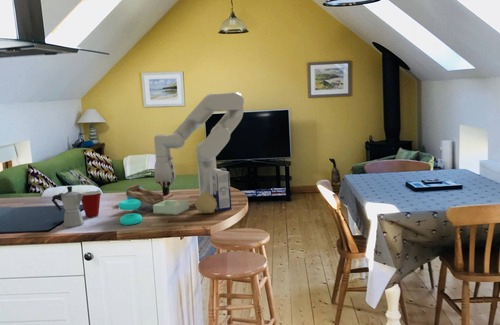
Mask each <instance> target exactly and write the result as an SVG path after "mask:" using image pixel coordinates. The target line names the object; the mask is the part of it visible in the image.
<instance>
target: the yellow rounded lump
mask: <svg viewBox="0 0 500 325" xmlns="http://www.w3.org/2000/svg"><path fill="white" fill-rule="evenodd" d="M216 206H217V202H216V197H215V195H212V194H210V193H208V192H204V193H202V194H201V195H200V194H199V196H198V198H197V200H196V201H195V208H196V210H197V212H198V214H214V213H215V210H216V209H215V208H216Z"/></svg>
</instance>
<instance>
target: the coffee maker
mask: <svg viewBox="0 0 500 325" xmlns="http://www.w3.org/2000/svg"><path fill="white" fill-rule="evenodd" d="M66 189H67V192H65V193H63V192H60V193H58V194H55V195H53V196H52V198H51V201H52V202H51V203H53V205H55V206H56V208H57V210H58V211H59V212H61V211H62V207H63V209H64V210H65V211H64V212H63V213H64V214H63V227H64V228H67V229H69V228H76V227H81V226H83V225H84V224H85V222H84V219H83V215H82V212H81V210H80V208H81V203H82V201H81V200H82V197H83V195H84V194H80V193H81V192H79V191H73V186H72V185H70V186H66ZM56 200H57V201H61V203H62V207H61V205H60V204H58V202H57V201H56Z"/></svg>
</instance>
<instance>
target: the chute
mask: <svg viewBox="0 0 500 325" xmlns="http://www.w3.org/2000/svg"><path fill="white" fill-rule="evenodd" d="M139 186H140V183H137V184H134V185H131V186H128V187H126V188H127V191H126V193H125V196H126V197H127V196H129V197H132V198H135V199H138V200H140V201H143V202H146V203H149V204H151V205H155V204H158V203H160V202H162V201H165V200H168V199H169V198H171V197H174V195H173V193H171V192H169V194H168V195H163V194H160V193H156V192H154V191H152V190H148V189H145V188H143V187H142V188H140V187H139Z"/></svg>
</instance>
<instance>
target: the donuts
mask: <svg viewBox="0 0 500 325" xmlns="http://www.w3.org/2000/svg"><path fill="white" fill-rule="evenodd" d="M117 205H118V208H119V209H120V210H121V211H132V210H134V209H137V208H138V207H140V205H141V202H140V201H139V200H137V199H129V200H127V199H123V200H121V201H120V202H118V204H117ZM119 222H120V224H121V225H125V226H130V225H131V226H132V225H137V224H140V223H141V222H143V216H142V215H141V213H134V212H131V213H126V214H124V215H122V216H121V217H120V219H119Z"/></svg>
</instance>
